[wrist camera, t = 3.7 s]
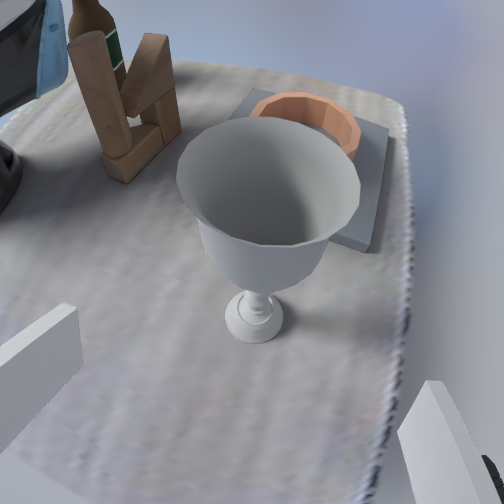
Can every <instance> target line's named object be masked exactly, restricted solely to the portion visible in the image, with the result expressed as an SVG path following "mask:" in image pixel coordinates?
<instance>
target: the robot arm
mask: <svg viewBox="0 0 504 504" xmlns="http://www.w3.org/2000/svg"><path fill="white" fill-rule="evenodd" d="M67 75H68V53H67V43H66V33H65V24H64V16H63V9H62V4H61V1H60V0H0V117H2V116H3V115H5V114H7V113H9V112H11V111H12V110H14V109H16V108H18V107H20V106H22V105H24V104H26V103H28V102H30V101H32V100H34V99H39V98H40V97H41V95H43V94H45V93H47V92H49V91H51V90H53V89H55V88H57V87H59V86H60V85H61V84H63V82H64V81H65V80H66V78H67ZM21 173H22V164H21V161H20V159H19V158H18V156H17V154H16V153H15V151H14V150H13V149H12V148H11V147H9V146H8V145H7V144H5V143H4V142H3V141H1V140H0V212H1V211H2V210H3V209H4V207H5V206H6V205H7V203H8V202H9V200H10V199H11V197H12V196H13V194H14V192H15V190H16V188H17V186H18V184H19V181H20V178H21ZM83 365H84V363H83V356H82V348H81V340H80V330H79V320H78V308H76V307H73V306H71V305H68V304H65V303H62V304H60V305H59V306H57V307H56V308H54V309H53V310H51V311H50V312H48V313H47V314H45V315H44V316H42V317H41V318H40V319H38V320H37V321H35V322H34V323H32V324H31V325H29V326H28V327H27V328H25V329H24V330H22V331H21V332H19V333H18V334H17V335H15V336H14V337H12V338H11V339H10V340H8V341H7V342H6V343H4V344H3V345H1V346H0V454H1V453H2V452H3V451H4V450H5V449H6V447H7V446H8V445H9V444H10V443H11V442H12V441H13V440H14V439H15V438H16V436H17V435H18V434H19V433H20V432H21V431H22V430H23V429H24V428H25V427H26V425H27V424H28V423H29V422H30V421H31V420H32V419H33V418H34V417H35V416H36V415H37V414H38V413H39V411H40V410H41V409H42V408H43V407H44V406H45V405H46V404H47V403H48V402H49V401H50V400H51V399H52V398H53V397H54V396H55V394H56V393H57V392H58V391H59V390H60V389H61V388H62V387H63V386H64V385H65V384H66V383H67V382H68V381H69V380H70V379H71V378H72V377H73V376H74V375H75V374H76V373H77V372H78V371H79V370H80V368H81V367H82V366H83ZM397 434H398V437H399V441H400V444H401V448H402V451H403V455H404V458H405V462H406V466H407V470H408V473H409V477H410V481H411V485H412V489H413V493H414V497H415V501H416V504H504V487H503V486H504V484H503V481H502V479H501V478H500V475H499V472H498V471H497V468H496V466H495V464H494V463H493V462H492V461H491V460H490V459H489V458H488V457H487V456H486V455H482V456H481V455H480V453H479V451H478V448H477V446H476V444H475V442H474V440H473V438H472V436H471V434H470V432H469V430H468V428H467V426H466V424H465V422H464V421H463V418H462V416H461V415H460V413H459V411H458V409H457V407H456V405H455V403H454V401H453V400H452V398H451V396H450V394H449V392H448V390H447V389H446V387H445V385H444V383H443V382H442V381H434V380H426V381H425V383H424V385H423V387H422V389H421V390H420V393H419V394H418V396H417V398H416V400H415V402H414V403H413V405H412V407H411V409H410V411H409V412H408V414H407V416H406V418H405V419H404V421H403V423H402V424H401V426H400V428H399V429H398V431H397Z"/></svg>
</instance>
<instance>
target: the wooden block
mask: <svg viewBox="0 0 504 504" xmlns="http://www.w3.org/2000/svg"><path fill="white" fill-rule="evenodd" d="M67 50H68V54H69V57H70V60H71V63H72V66H73V69H74V72H75V75H76V78H77V81H78V84H79V87H80V90H81V92H82V95H83V98H84V101H85V104H86V106H87V109H88V112H89V114H90V117H91V120H92V122H93V125H94V127H95V130H96V133H97V135H98V138H99V140H100V143H101V145H102V148H103V150H104V152H102V153H101V155H100V157H101V160H102V162H103V164H104V167H105V169H106V171H107V173H108V175H110V176H112V177H113V178H115V179H117V180H119V181H121V182H123V183H125V184H127V183H129V182H130V181H131V179H132V178H133V177H134V176H135V175H136V174H137V173H138V172H139V171H140V170H141V169H142V168H143V167H144V166H145V165H146V164H147V163H148V162H149V161H150V160H151V159H152V158H153V157H154V156H155V155H156V154H157V153H158V152H159V151H160V150H161V149H163V147H164V146H165V145H167V144H168V143H169V142H170V141H171V140H172V139H173V138H174V137H176V136H177V135H178V134H179V133H180V132H181V124H180V118H179V111H178V105H177V99H176V92H175V88H174V87H175V82H174V75H173V68H172V61H171V54H170V47H169V40H168V36H167V35H160V34H151V33H145V34H144V36H143V38H142V40H141V42H140V45H139V47H138V49H137V51H136V53H135V56H134V58H133V60H132V63H131V65H130V68H129V70H128V73H127V75H126V78H125V80H124V83H123V85H122V88H121V91H120V93H119V89H118V86H117V82H116V78H115V75H114V71H113V67H112V63H111V59H110V55H109V51H108V47H107V43H106V39H105V35H104V33H103V32H102V31H91V32H88V33H85V34H82V35H80V36H78V37H76V38H75V39H73V40H72V41H70V42H69V43H68V45H67ZM139 114H140V118H141V122H142V125H138V126H134V127H131V128H130V127H129V124H128V121H127V117H126V116H128V117H131V118H135V117H136V116H138V115H139Z"/></svg>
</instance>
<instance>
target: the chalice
mask: <svg viewBox="0 0 504 504" xmlns="http://www.w3.org/2000/svg"><path fill="white" fill-rule="evenodd" d="M176 183H177V185H178V188H179V191H180V194H181V197H182V199H183V202H184V203H185V204H186V206H187V207H188V208H189V209H190V210H191V211H192V212H193V213H194V215H195V216H196V217H197V220H198V225H199V230H200V235H201V239H202V244H203V247H204V249H205V252H206V254H207V257H208V260H209V261H210V262H211V263H212V264H213V265H214V267H215V268H216V269H217V270H218V271H219V272H220V273H221V274H222V275H223V276H224V277H226V278H227V279H228V280H230V281H231V282H233V283H234V284H236V285H237V286H239V287H241V288H242V289H246V290H245V291H242V292H240V293H238V294H237V295H235V296H234V297H233V298H232V299H231V301H230V302H229V303H228V306H227V309H226V312H225V320H226V323H227V326H228V329H229V330H230V331H231V333H232V334H233V335H234V336H235V337H236V338H238V339H239V340H241V341H243V342H247V343H250V344H257V343H263V342H266V341H269V340H270V339H272V338H273V337H274V336H276V335H277V333H278V332H279V330H280V329H281V327H282V323H283V310H282V308H281V305H280V303H279V302H278V301H277V299H276V298H275V297H274V296H273V295H271V294H269V293H272V292H276V291H279V290H283V289H286V288H288V287H291V286H293V285H295V284H297V283H298V282H300V281H301V280H303V279H304V278H306V277H307V276H308V275H310V274H311V273H312V271H313V270H314V268H315V267H316V265H317V264H318V262H319V261H320V259H321V257H322V254H323V252H324V250H325V247H326V245H327V243H328V241H329V238H330V236H331V235H332V234H334V233H335V232H337V231H338V230H340V229H341V228H343V227H344V226H346V225H347V224H348V222H349V220H350V219H351V217H352V216H353V214H354V212H355V211H356V209H357V207H358V206H359V198H360V186H361V184H360V181H359V178H358V175H357V172H356V169H355V167H354V164H353V163H352V161H351V160H350V159H349V158H348V156H347V155H346V154H345V153H344V151H343V150H342V149H341V148H340V147H339V146H338V145H337V144H336V143H334V142H333V141H331V140H330V139H329V138H327V137H326V136H325V135H323V134H322V133H320V132H318V131H316V130H314V129H312V128H309V127H307V126H305V125H303V124H300V123H297V122H293V121H289V120H285V119H280V118H276V117H244V118H238V119H233V120H227V121H224V122H222V123H220V124H217V125H215V126H212V127H210V128H208V129H205V130H204V131H203V132H202V133H200V134H199V135H198V136H197V137H195V138H194V139H193V140H192V141H191V142H189V143H188V145H187V147H186V148H185V150H184V152H183V153H182V155H181V157H180V158H179V160H178V166H177V176H176Z"/></svg>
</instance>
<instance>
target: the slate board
mask: <svg viewBox="0 0 504 504" xmlns="http://www.w3.org/2000/svg"><path fill="white" fill-rule="evenodd" d="M273 95H276V93H272V92H268V91H263V90H259V89H254V88H253V89H252V90H251V91H250V92H249V94H248V95H247V96H246V98H245V99H244V100H243V101H242V103H241V104H240V105H239V106H238V108H237V109H236V110H235V112H234V113H233V114H232V116H231V117H230V118H229V119H228V120H233V119H238V118H244V117H249V115H250V114H251V112H252V111H253V109H254V108H255V107H256V105H257V104H258V102H259V101H261V100H263V99H266V98H268V97H271V96H273ZM353 117H354V119H355V121H356V122H357V124H358V126H359V128H360V129H361V135H360V139H359V144H358V148H357V151H356V153H355V156H354V159H353V162H352V163H353V164H354V167H355V169H356V172H357V175H358V178H359V181H360V184H361V186H360V198H359V206H358V207H357V209H356V211H355V212H354V214H353V216H352V217H351V219H350V220H349V222H348V224H347V225H346V226H344V227H343V228H341V229H340V230H338V231H337V232H335V233H334V234H332V235H331V236H330V238H329V240H330V241H333V242H336V243H339V244H342V245H344V246H347V247H350V248H352V249H355V250H358V251H361V252H363V253H365V252H366V251H367V249H368V247H369V246H370V242H371V237H372V232H373V227H374V222H375V217H376V212H377V206H378V201H379V195H380V189H381V183H382V177H383V170H384V164H385V157H386V149H387V142H388V133H389V129H388V128H385V127H383V126H380V125H377V124H375V123H372V122H369V121H366V120H363V119H361V118H358V117H355V116H353ZM297 123H300V124H303V125H305V126H307V127H309V128H312V129H314V130H316V131H318V132H320V133H322V134H323V135H325V136H326V137H327V138H329V139H330V140H331V141H333V142H334V143H336V144H337V145H338V146H339V147H340V148H341V146H340V144H339V142H338V140H337V139H336V138H335V137H333V136H332V135H331V134H329V133H328V132H327V131H325V130H324V129H323V128H321V127H317V126H314V125H311V124H308V123H304V122H297Z"/></svg>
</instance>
